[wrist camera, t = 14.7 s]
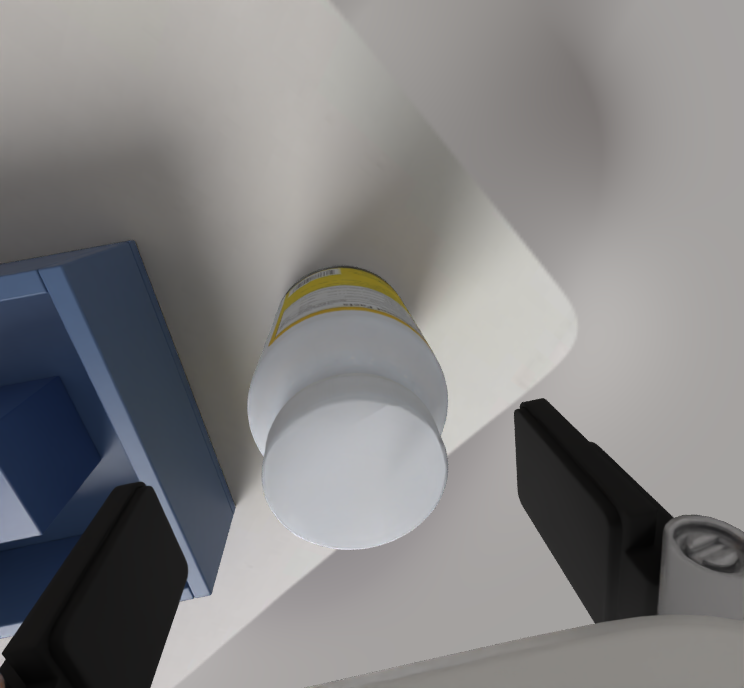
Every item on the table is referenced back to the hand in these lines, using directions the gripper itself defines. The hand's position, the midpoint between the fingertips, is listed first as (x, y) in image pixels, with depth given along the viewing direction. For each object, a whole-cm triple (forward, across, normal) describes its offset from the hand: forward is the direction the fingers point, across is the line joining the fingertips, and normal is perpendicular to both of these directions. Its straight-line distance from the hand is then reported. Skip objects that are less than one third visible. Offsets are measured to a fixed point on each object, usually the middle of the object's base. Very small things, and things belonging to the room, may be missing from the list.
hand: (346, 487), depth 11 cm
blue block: (+11, +16, +2) cm, 19 cm away
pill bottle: (+12, 0, 0) cm, 12 cm away
